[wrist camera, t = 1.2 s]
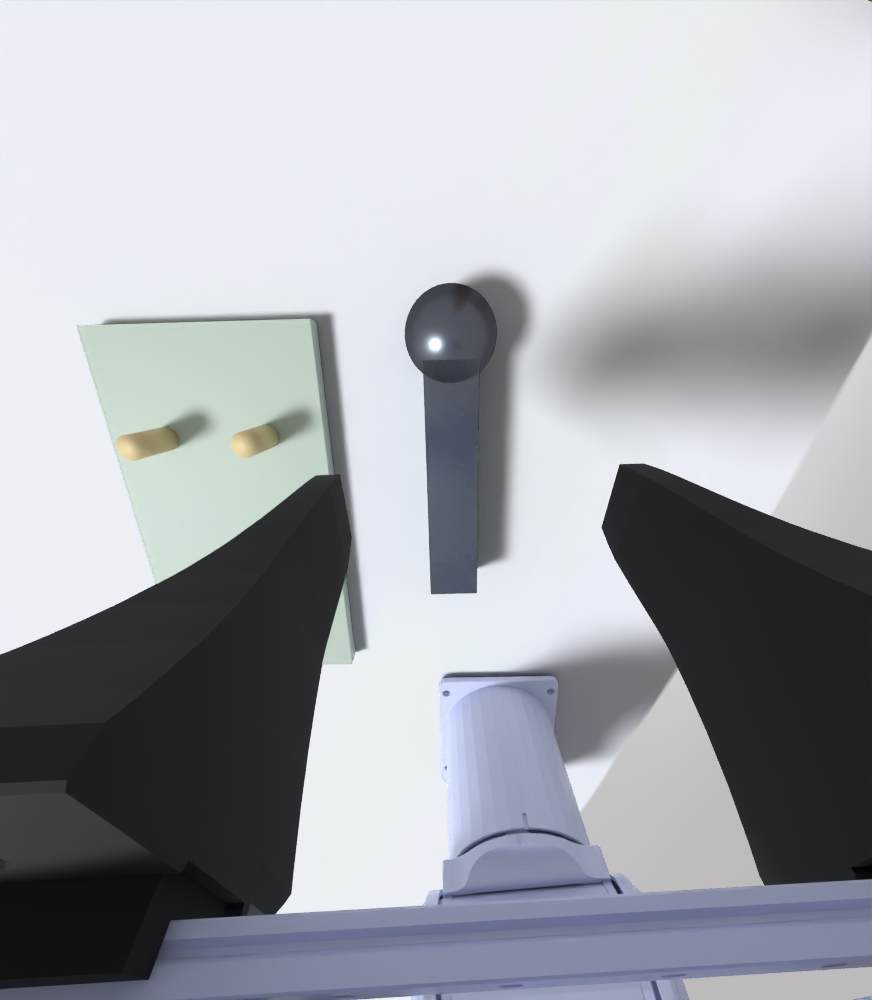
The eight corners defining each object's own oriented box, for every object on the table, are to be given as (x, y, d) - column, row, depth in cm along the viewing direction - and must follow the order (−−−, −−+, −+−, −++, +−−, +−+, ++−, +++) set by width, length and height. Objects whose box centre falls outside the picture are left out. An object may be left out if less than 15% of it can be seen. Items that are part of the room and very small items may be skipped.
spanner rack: (355, 652, 25) (342, 695, 22) (190, 655, 25) (153, 699, 22) (316, 321, 18) (289, 310, 15) (94, 327, 18) (20, 318, 15)
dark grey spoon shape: (484, 569, 23) (490, 592, 20) (419, 570, 23) (417, 594, 20) (489, 294, 18) (497, 281, 16) (406, 296, 18) (402, 284, 16)
